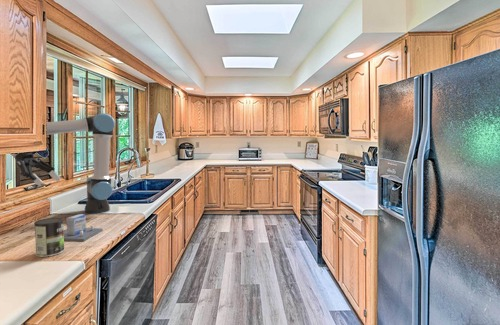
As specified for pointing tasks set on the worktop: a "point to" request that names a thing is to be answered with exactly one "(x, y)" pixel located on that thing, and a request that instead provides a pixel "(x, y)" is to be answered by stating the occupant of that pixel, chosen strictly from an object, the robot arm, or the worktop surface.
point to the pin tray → (82, 234)
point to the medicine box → (76, 224)
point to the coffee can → (49, 237)
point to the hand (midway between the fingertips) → (50, 182)
